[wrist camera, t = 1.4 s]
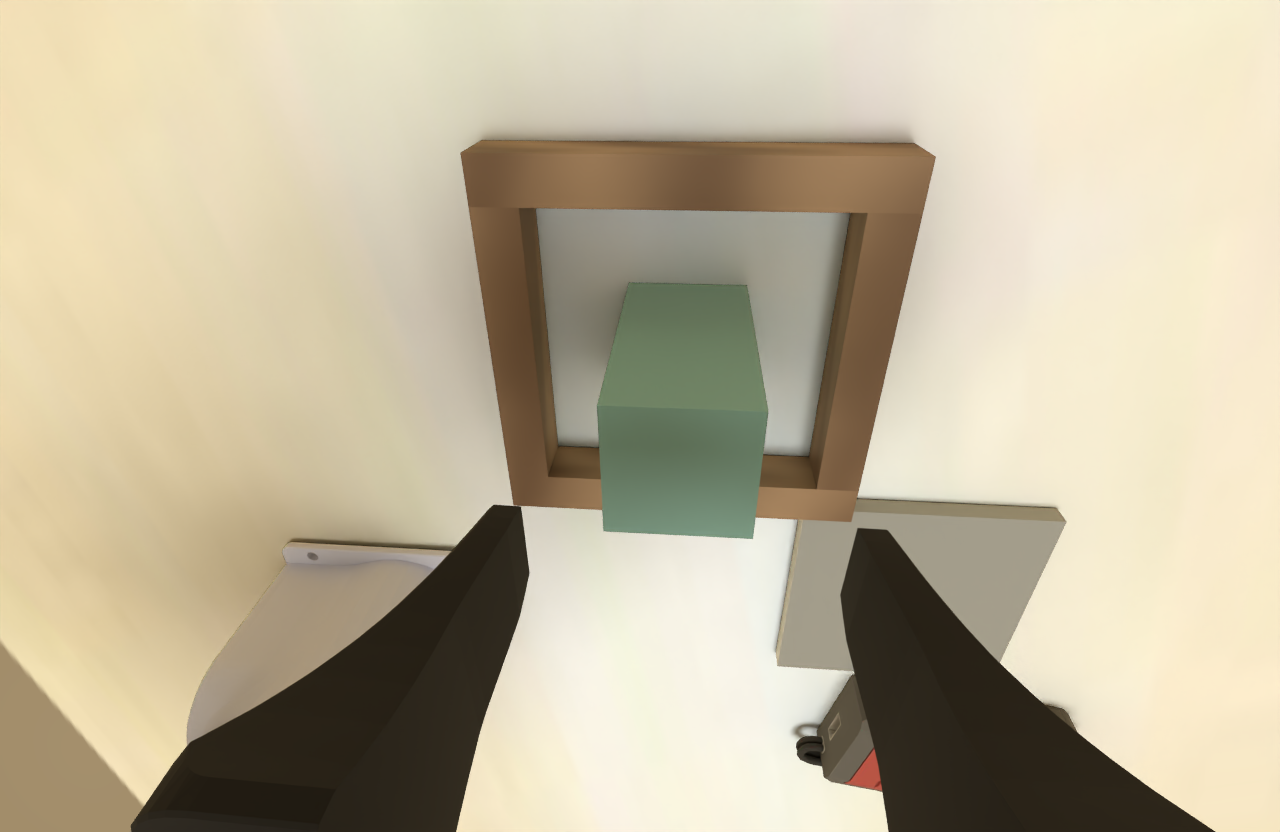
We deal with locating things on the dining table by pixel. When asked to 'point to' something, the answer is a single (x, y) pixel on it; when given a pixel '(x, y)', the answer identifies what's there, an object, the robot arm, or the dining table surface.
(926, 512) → the ceramic tile
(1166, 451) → the dining table surface
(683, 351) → the green block
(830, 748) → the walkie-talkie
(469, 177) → the brown square frame
